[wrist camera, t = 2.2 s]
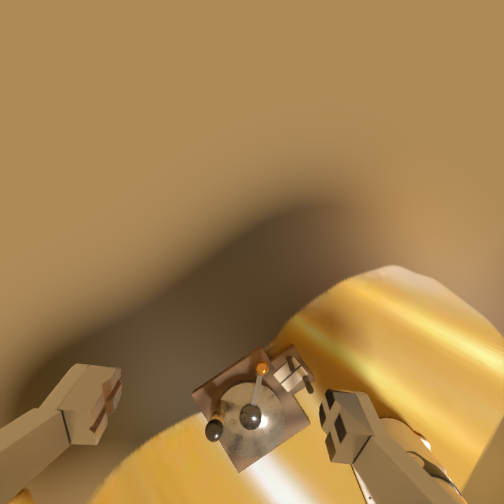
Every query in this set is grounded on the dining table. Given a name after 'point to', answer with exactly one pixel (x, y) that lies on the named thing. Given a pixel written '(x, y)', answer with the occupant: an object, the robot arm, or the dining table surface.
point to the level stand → (278, 379)
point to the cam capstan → (248, 417)
